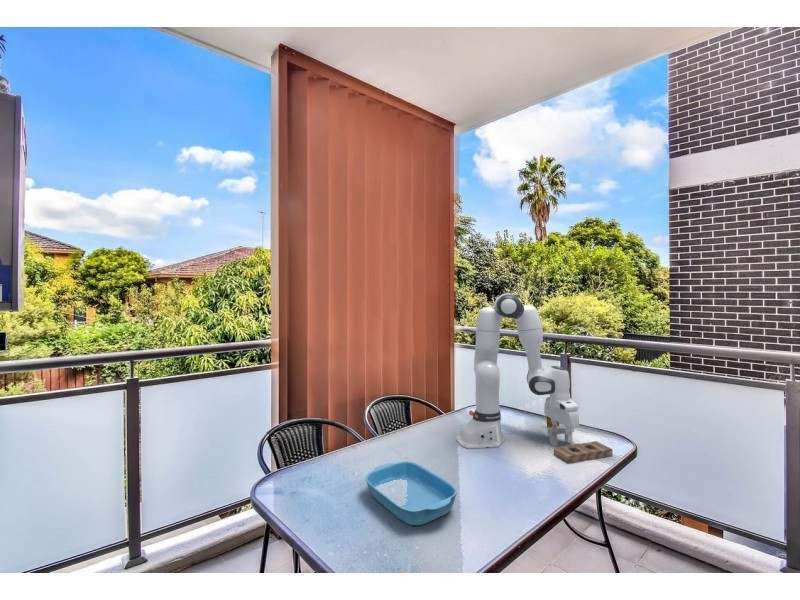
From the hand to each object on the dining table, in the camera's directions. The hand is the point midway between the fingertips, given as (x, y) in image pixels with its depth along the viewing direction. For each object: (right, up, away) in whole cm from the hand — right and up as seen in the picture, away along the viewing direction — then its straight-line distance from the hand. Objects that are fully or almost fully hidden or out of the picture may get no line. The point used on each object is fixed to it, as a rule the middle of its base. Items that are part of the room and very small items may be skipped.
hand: (561, 431), depth 175 cm
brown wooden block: (+4, -6, -14) cm, 15 cm away
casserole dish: (-71, -10, -44) cm, 84 cm away
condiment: (+4, -5, +21) cm, 22 cm away
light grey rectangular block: (0, -6, 0) cm, 6 cm away
